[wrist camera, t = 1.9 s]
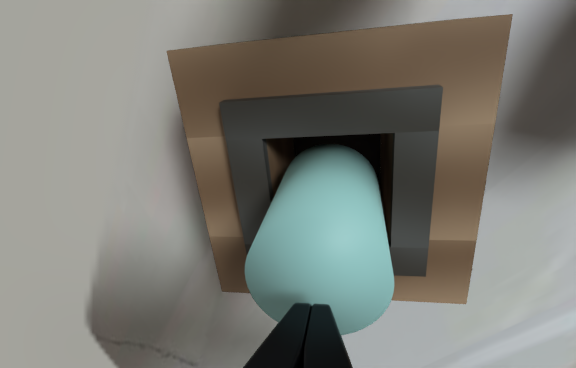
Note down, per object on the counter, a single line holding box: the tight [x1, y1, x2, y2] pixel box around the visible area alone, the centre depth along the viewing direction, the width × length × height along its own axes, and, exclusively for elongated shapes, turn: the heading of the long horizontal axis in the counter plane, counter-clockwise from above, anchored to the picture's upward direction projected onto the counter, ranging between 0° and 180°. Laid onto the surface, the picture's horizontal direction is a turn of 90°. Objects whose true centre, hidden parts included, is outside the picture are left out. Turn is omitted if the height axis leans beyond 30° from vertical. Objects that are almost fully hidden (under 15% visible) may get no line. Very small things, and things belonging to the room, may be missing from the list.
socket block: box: [167, 14, 513, 304], centre depth 16 cm, size 12×12×7 cm
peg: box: [245, 144, 394, 335], centre depth 11 cm, size 4×4×6 cm
